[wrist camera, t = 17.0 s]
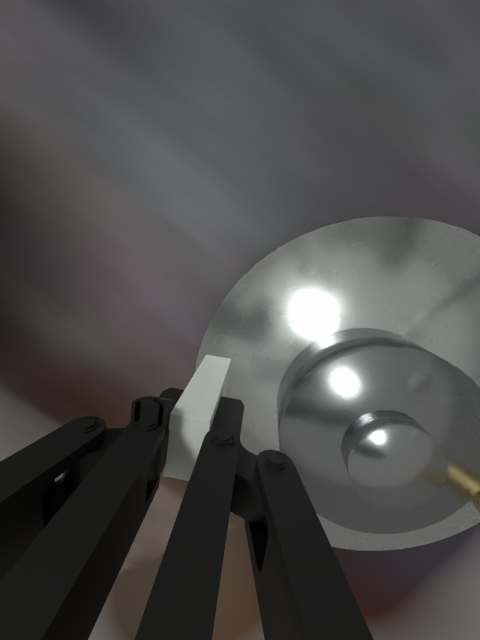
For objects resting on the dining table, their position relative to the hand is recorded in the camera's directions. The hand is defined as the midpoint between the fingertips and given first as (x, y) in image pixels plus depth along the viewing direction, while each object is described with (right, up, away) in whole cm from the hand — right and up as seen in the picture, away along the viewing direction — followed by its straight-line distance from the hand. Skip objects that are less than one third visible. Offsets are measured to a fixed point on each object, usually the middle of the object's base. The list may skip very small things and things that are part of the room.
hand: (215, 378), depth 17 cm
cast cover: (+9, -2, +1) cm, 9 cm away
